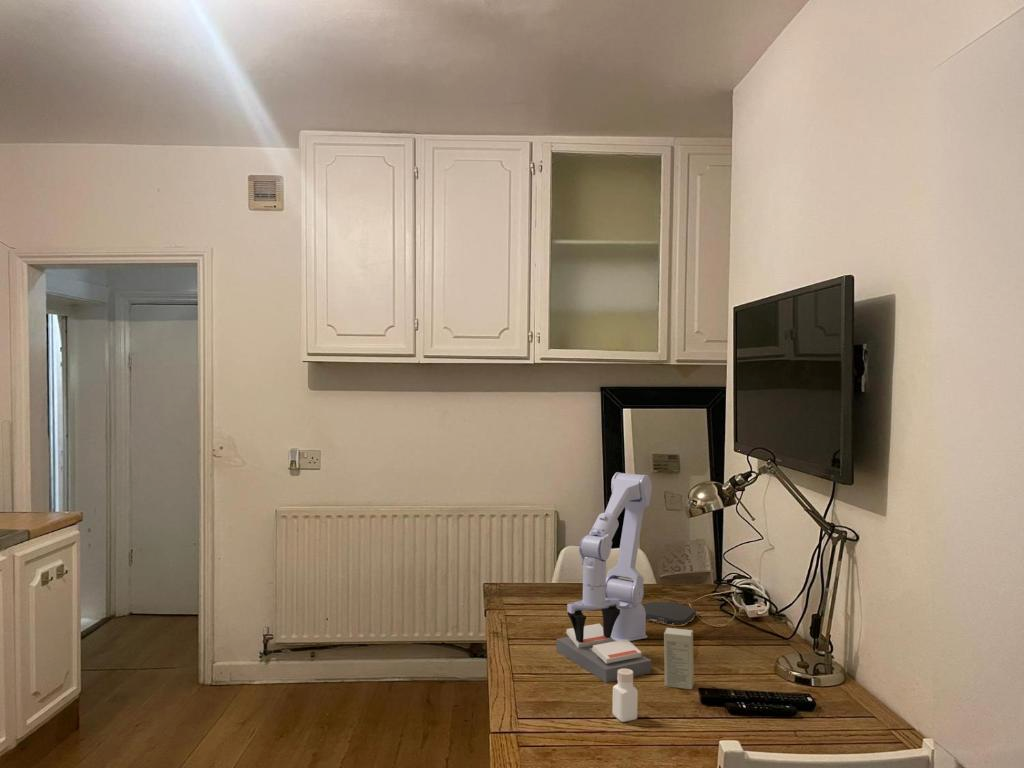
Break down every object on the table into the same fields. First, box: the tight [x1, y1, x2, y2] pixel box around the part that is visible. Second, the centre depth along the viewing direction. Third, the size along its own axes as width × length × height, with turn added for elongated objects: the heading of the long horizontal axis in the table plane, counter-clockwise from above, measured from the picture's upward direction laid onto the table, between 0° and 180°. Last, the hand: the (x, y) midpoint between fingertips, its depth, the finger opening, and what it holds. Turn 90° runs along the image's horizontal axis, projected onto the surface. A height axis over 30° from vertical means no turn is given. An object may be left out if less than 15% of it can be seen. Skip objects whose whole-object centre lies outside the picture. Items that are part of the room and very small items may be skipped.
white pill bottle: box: [612, 669, 639, 723], centre depth 149 cm, size 4×4×10 cm
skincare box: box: [663, 627, 695, 690], centre depth 166 cm, size 6×4×12 cm
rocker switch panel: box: [555, 636, 652, 683], centre depth 179 cm, size 13×22×3 cm, turn 28°
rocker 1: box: [565, 623, 612, 648], centre depth 184 cm, size 10×6×1 cm, turn 118°
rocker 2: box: [592, 639, 642, 664], centre depth 173 cm, size 10×6×1 cm, turn 118°
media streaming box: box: [642, 601, 697, 625], centre depth 214 cm, size 15×15×3 cm
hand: (593, 638), depth 181 cm, fingers open, 7 cm apart
